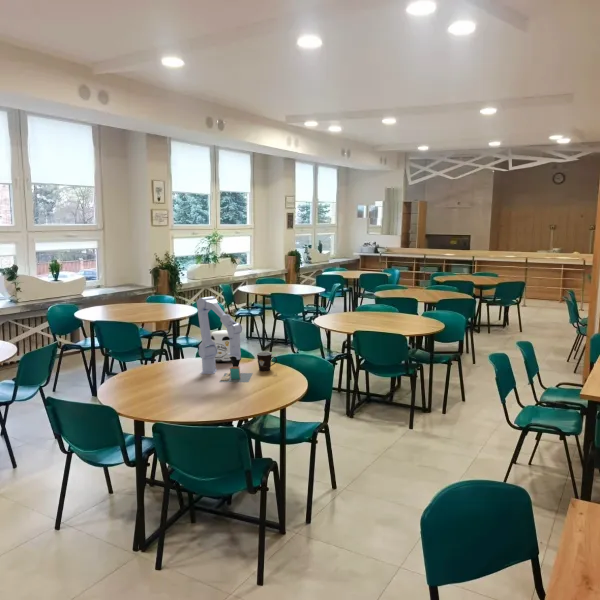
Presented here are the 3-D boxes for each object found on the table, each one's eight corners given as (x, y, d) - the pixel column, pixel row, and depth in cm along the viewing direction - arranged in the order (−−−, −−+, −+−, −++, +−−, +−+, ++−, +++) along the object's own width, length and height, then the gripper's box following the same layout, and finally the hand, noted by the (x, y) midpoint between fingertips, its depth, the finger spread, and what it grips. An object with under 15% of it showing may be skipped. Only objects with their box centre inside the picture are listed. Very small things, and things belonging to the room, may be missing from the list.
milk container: (212, 365, 333) (211, 336, 331) (209, 358, 350) (208, 330, 347) (240, 362, 338) (239, 334, 335) (236, 356, 354) (235, 329, 352)
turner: (225, 373, 312) (225, 372, 311) (232, 373, 311) (232, 372, 311) (220, 380, 298) (220, 379, 298) (228, 380, 298) (228, 379, 297)
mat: (225, 373, 313) (225, 373, 313) (252, 373, 312) (252, 373, 312) (219, 382, 295) (219, 382, 295) (248, 382, 294) (248, 382, 294)
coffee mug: (254, 370, 319) (253, 353, 318) (266, 367, 325) (265, 351, 323) (266, 374, 310) (266, 357, 309) (278, 371, 316) (277, 354, 315)
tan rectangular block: (231, 377, 302) (230, 366, 299) (240, 377, 302) (239, 366, 299) (231, 379, 300) (229, 368, 297) (240, 379, 300) (239, 368, 297)
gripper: (224, 343, 305) (225, 367, 307) (231, 348, 291) (231, 373, 293) (237, 342, 307) (237, 365, 309) (243, 347, 294) (244, 372, 296)
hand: (235, 369), depth 301 cm, fingers closed
